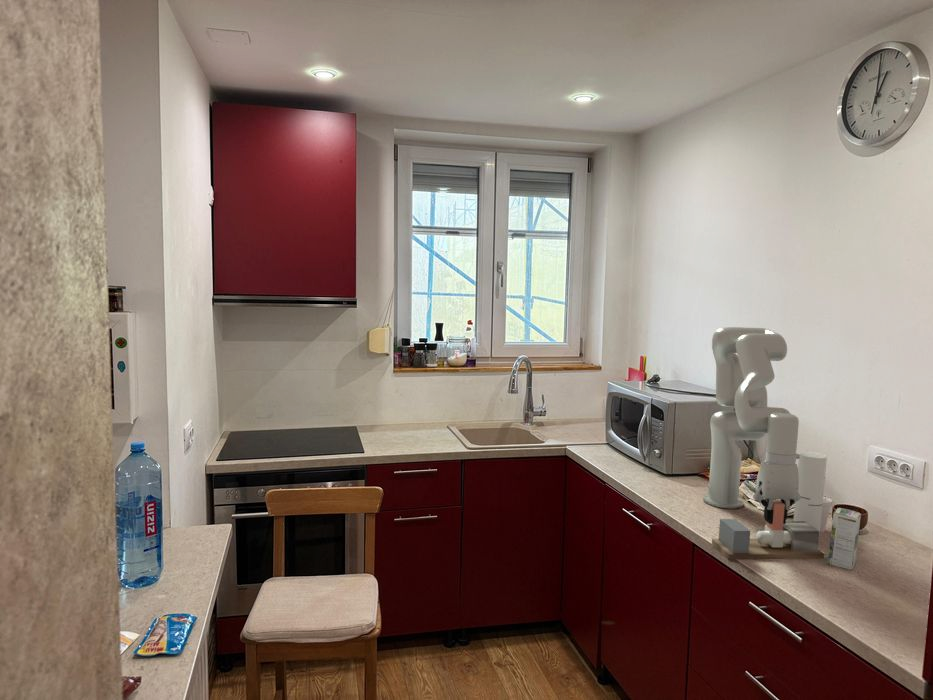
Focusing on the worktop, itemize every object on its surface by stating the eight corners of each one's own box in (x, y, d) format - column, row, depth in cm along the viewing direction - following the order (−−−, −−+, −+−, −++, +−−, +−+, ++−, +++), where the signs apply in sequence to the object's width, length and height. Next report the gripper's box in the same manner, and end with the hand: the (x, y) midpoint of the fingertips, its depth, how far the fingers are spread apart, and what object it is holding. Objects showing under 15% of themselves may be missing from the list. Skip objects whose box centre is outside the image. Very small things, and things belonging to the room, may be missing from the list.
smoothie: (826, 526, 194) (830, 483, 193) (832, 534, 188) (836, 489, 187) (803, 524, 196) (807, 480, 194) (809, 532, 190) (813, 487, 188)
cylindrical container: (795, 529, 192) (802, 449, 189) (821, 535, 187) (829, 454, 184) (789, 536, 186) (796, 454, 183) (816, 543, 182) (824, 459, 179)
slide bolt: (755, 540, 178) (758, 499, 176) (809, 540, 179) (813, 499, 177) (763, 547, 173) (767, 505, 172) (819, 547, 174) (823, 505, 173)
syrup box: (831, 557, 173) (836, 506, 171) (856, 563, 169) (861, 512, 167) (827, 564, 169) (832, 512, 167) (852, 571, 165) (858, 518, 163)
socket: (718, 540, 179) (720, 518, 178) (733, 539, 179) (735, 518, 179) (732, 553, 171) (734, 530, 170) (748, 552, 171) (750, 530, 170)
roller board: (711, 543, 180) (713, 519, 179) (802, 543, 182) (804, 519, 181) (728, 559, 170) (730, 533, 169) (824, 559, 172) (826, 533, 171)
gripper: (800, 454, 177) (795, 516, 179) (744, 454, 176) (739, 517, 178) (817, 462, 170) (811, 527, 172) (758, 462, 168) (753, 527, 171)
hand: (774, 521), depth 175 cm, fingers closed on slide bolt, 3 cm apart
